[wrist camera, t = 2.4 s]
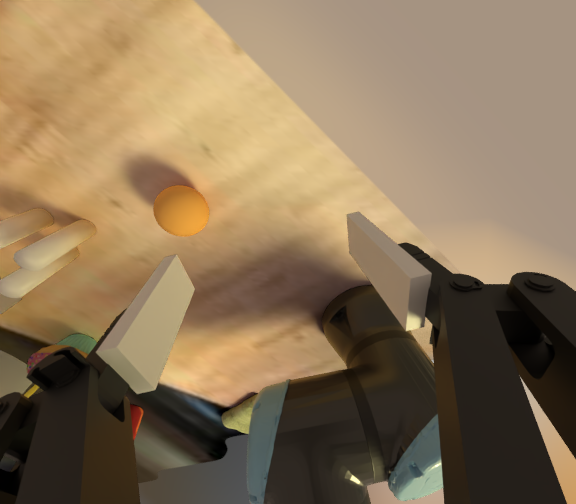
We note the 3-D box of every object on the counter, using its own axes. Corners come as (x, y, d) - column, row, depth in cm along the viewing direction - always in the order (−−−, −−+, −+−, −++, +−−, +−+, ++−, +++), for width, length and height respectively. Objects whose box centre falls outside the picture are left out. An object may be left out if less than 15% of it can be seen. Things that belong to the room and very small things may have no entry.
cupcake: (41, 332, 37) (-45, 413, 26) (91, 320, 37) (25, 396, 26) (75, 363, 41) (13, 444, 31) (121, 353, 41) (74, 430, 31)
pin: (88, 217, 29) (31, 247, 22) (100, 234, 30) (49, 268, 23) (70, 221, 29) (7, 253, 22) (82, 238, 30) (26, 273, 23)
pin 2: (71, 241, 30) (11, 277, 23) (83, 256, 31) (29, 295, 24) (54, 245, 30) (-12, 283, 23) (66, 260, 31) (8, 300, 24)
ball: (202, 175, 28) (190, 186, 23) (219, 219, 31) (211, 238, 26) (156, 186, 28) (132, 199, 23) (177, 229, 31) (160, 250, 26)
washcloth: (266, 432, 63) (267, 447, 60) (219, 411, 55) (216, 426, 52) (304, 412, 60) (306, 427, 57) (259, 387, 52) (259, 402, 49)
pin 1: (44, 206, 28) (-33, 234, 20) (57, 223, 29) (-10, 256, 22) (25, 210, 28) (-59, 240, 20) (39, 228, 29) (-35, 262, 22)
